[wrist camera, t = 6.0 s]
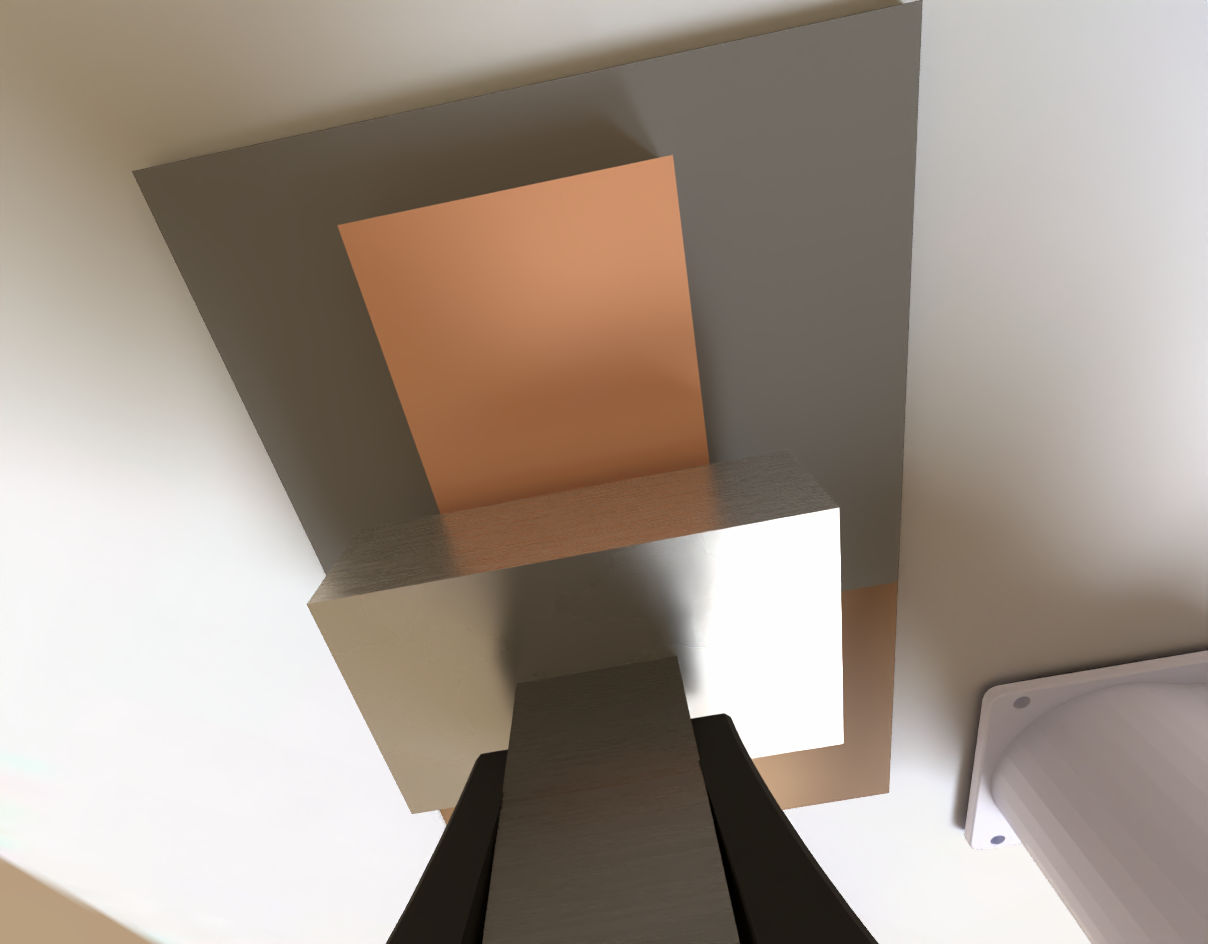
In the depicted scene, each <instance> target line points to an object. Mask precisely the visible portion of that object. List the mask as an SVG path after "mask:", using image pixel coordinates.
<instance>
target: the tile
mask: <svg viewBox="0 0 1208 944" xmlns="http://www.w3.org/2000/svg"><path fill="white" fill-rule="evenodd" d="M337 226H338V228H339V231H340V234H341V237H342V240H343V242H344V245H345V248H346V251H347V254H348V256H349V259H350V262H351V265H352V268H353V270H354V273H355V276H356V279H357V282H358V284H359V287H360V290H361V293H362V296H363V298H364V301H365V304H366V307H367V310H368V312H369V315H370V318H371V321H372V324H373V326H374V329H375V332H376V335H377V338H378V340H379V343H380V346H381V349H382V352H383V354H384V357H385V360H386V363H387V366H388V368H389V371H390V374H391V377H392V380H393V382H394V385H395V388H396V391H397V394H398V396H399V399H400V402H401V405H402V408H403V410H404V413H405V416H406V419H407V422H408V424H409V427H410V430H411V433H412V436H413V438H414V441H415V444H416V447H417V450H418V452H419V455H420V458H421V461H422V464H423V466H424V469H425V472H426V475H427V478H428V480H429V483H430V486H431V489H432V492H433V494H434V497H435V500H436V503H437V506H438V508H439V511H440V514H445V513H450V512H455V511H461V510H466V509H471V508H477V507H482V506H487V505H493V504H498V503H504V502H509V501H514V500H520V499H525V498H530V497H536V496H541V495H547V494H552V493H557V492H563V491H568V490H573V489H579V488H584V487H589V486H595V485H600V484H606V483H611V482H616V481H622V480H627V479H632V478H638V477H643V476H649V475H654V474H659V473H665V472H670V471H675V470H681V469H686V468H691V467H697V466H702V465H708V464H709V455H708V447H707V438H706V430H705V421H704V413H703V405H702V396H701V388H700V379H699V371H698V363H697V354H696V346H695V337H694V329H693V320H692V312H691V304H690V295H689V287H688V278H687V270H686V261H685V253H684V245H683V236H682V228H681V219H680V211H679V203H678V194H677V186H676V177H675V169H674V160H673V155H670V156H665V157H660V158H655V159H651V160H646V161H641V162H636V163H632V164H627V165H622V166H617V167H613V168H608V169H603V170H598V171H594V172H589V173H584V174H579V175H574V176H570V177H565V178H560V179H555V180H551V181H546V182H541V183H536V184H532V185H527V186H522V187H517V188H513V189H508V190H503V191H498V192H493V193H489V194H484V195H479V196H474V197H470V198H465V199H460V200H455V201H451V202H446V203H441V204H436V205H432V206H427V207H422V208H417V209H412V210H408V211H403V212H398V213H393V214H389V215H384V216H379V217H374V218H370V219H365V220H360V221H355V222H351V223H346V224H341V225H337Z"/></svg>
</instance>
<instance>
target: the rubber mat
mask: <svg viewBox="0 0 1208 944" xmlns="http://www.w3.org/2000/svg"><path fill="white" fill-rule="evenodd" d="M921 23H922V0H919V1H915V2H910V3H905V4H901V5H896V6H891V7H887V8H882V9H878V10H873V11H868V12H864V13H859V14H855V15H850V16H845V17H841V18H836V19H832V20H827V21H822V22H818V23H813V24H809V25H804V26H799V27H795V28H790V29H786V30H781V31H776V32H772V33H767V34H763V35H758V36H753V37H749V38H744V39H739V40H735V41H730V42H726V43H721V44H716V45H712V46H707V47H703V48H698V49H693V50H689V51H684V52H680V53H675V54H670V55H666V56H661V57H657V58H652V59H647V60H643V61H638V62H634V63H629V64H624V65H620V66H615V67H611V68H606V69H601V70H597V71H592V72H587V73H583V74H578V75H574V76H569V77H564V78H560V79H555V80H551V81H546V82H541V83H537V84H532V85H528V86H523V87H518V88H514V89H509V90H505V91H500V92H495V93H491V94H486V95H482V96H477V97H472V98H468V99H463V100H459V101H454V102H449V103H445V104H440V105H435V106H431V107H426V108H422V109H417V110H412V111H408V112H403V113H399V114H394V115H389V116H385V117H380V118H376V119H371V120H366V121H362V122H357V123H353V124H348V125H343V126H339V127H334V128H330V129H325V130H320V131H316V132H311V133H307V134H302V135H297V136H293V137H288V138H283V139H279V140H274V141H270V142H265V143H260V144H256V145H251V146H247V147H242V148H237V149H233V150H228V151H224V152H219V153H214V154H210V155H205V156H201V157H196V158H191V159H187V160H182V161H178V162H173V163H168V164H164V165H159V166H155V167H150V168H145V169H141V170H136V171H132V173H133V175H134V177H135V179H136V181H137V183H138V185H139V187H140V189H141V191H142V193H143V195H144V197H145V200H146V202H147V204H148V206H149V208H150V210H151V212H152V214H153V216H154V218H155V220H156V222H157V224H158V227H159V229H160V231H161V233H162V235H163V237H164V239H165V241H166V243H167V245H168V247H169V249H170V251H171V254H172V256H173V258H174V260H175V262H176V264H177V266H178V268H179V270H180V272H181V274H182V276H183V278H184V281H185V283H186V285H187V287H188V289H189V291H190V293H191V295H192V297H193V299H194V301H195V303H196V305H197V308H198V310H199V312H200V314H201V316H202V318H203V320H204V322H205V324H206V326H207V328H208V330H209V332H210V335H211V337H212V339H213V341H214V343H215V345H216V347H217V349H218V351H219V353H220V355H221V357H222V359H223V362H224V364H225V366H226V368H227V370H228V372H229V374H230V376H231V378H232V380H233V382H234V384H235V386H236V388H237V391H238V393H239V395H240V397H241V399H242V401H243V403H244V405H245V407H246V409H247V411H248V413H249V415H250V418H251V420H252V422H253V424H254V426H255V428H256V430H257V432H258V434H259V436H260V438H261V440H262V442H263V445H264V447H265V449H266V451H267V453H268V455H269V457H270V459H271V461H272V463H273V465H274V467H275V469H276V472H277V474H278V476H279V478H280V480H281V482H282V484H283V486H284V488H285V490H286V492H287V494H288V496H289V499H290V501H291V503H292V505H293V507H294V509H295V511H296V513H297V515H298V517H299V519H300V521H301V523H302V526H303V528H304V530H305V532H306V534H307V536H308V538H309V540H310V542H311V544H312V546H313V548H314V550H315V553H316V555H317V557H318V559H319V561H320V563H321V565H322V567H323V569H324V571H325V573H326V575H327V574H328V573H329V572H330V570H331V569H332V567H333V566H334V564H335V563H336V561H337V560H338V559H339V557H340V556H341V554H342V553H343V551H344V550H345V548H346V547H347V546H348V544H349V543H350V541H351V540H352V538H353V537H354V535H355V534H356V533H357V531H358V530H359V529H364V528H369V527H375V526H380V525H385V524H391V523H396V522H402V521H407V520H412V519H418V518H423V517H428V516H434V515H439V514H440V511H439V508H438V506H437V503H436V500H435V497H434V494H433V492H432V489H431V486H430V483H429V480H428V478H427V475H426V472H425V469H424V466H423V464H422V461H421V458H420V455H419V452H418V450H417V447H416V444H415V441H414V438H413V436H412V433H411V430H410V427H409V424H408V422H407V419H406V416H405V413H404V410H403V408H402V405H401V402H400V399H399V396H398V394H397V391H396V388H395V385H394V382H393V380H392V377H391V374H390V371H389V368H388V366H387V363H386V360H385V357H384V354H383V352H382V349H381V346H380V343H379V340H378V338H377V335H376V332H375V329H374V326H373V324H372V321H371V318H370V315H369V312H368V310H367V307H366V304H365V301H364V298H363V296H362V293H361V290H360V287H359V284H358V282H357V279H356V276H355V273H354V270H353V268H352V265H351V262H350V259H349V256H348V254H347V251H346V248H345V245H344V242H343V240H342V237H341V234H340V231H339V228H338V226H337V225H341V224H346V223H351V222H355V221H360V220H365V219H370V218H374V217H379V216H384V215H389V214H393V213H398V212H403V211H408V210H412V209H417V208H422V207H427V206H432V205H436V204H441V203H446V202H451V201H455V200H460V199H465V198H470V197H474V196H479V195H484V194H489V193H493V192H498V191H503V190H508V189H513V188H517V187H522V186H527V185H532V184H536V183H541V182H546V181H551V180H555V179H560V178H565V177H570V176H574V175H579V174H584V173H589V172H594V171H598V170H603V169H608V168H613V167H617V166H622V165H627V164H632V163H636V162H641V161H646V160H651V159H655V158H660V157H665V156H670V155H673V160H674V169H675V177H676V186H677V194H678V203H679V211H680V219H681V228H682V236H683V245H684V253H685V261H686V270H687V278H688V287H689V295H690V304H691V312H692V320H693V329H694V337H695V346H696V354H697V363H698V371H699V379H700V388H701V396H702V405H703V413H704V421H705V430H706V438H707V447H708V455H709V464H713V463H718V462H724V461H729V460H734V459H740V458H745V457H751V456H756V455H761V454H767V453H772V452H777V451H783V450H789V451H790V452H791V453H792V454H793V455H794V457H795V458H796V459H797V460H798V461H799V462H800V463H801V465H802V466H803V467H804V468H805V469H806V470H807V471H808V473H809V474H810V475H811V476H812V477H813V478H814V479H815V481H816V482H817V483H818V484H819V485H820V486H821V488H822V489H823V490H824V491H825V492H826V493H827V494H828V496H829V497H830V498H831V499H832V500H833V501H834V502H835V504H836V505H837V506H838V507H839V523H840V583H841V591H847V590H853V589H859V588H864V587H870V586H876V585H881V584H887V583H893V582H898V568H899V544H900V521H901V497H902V473H903V449H904V426H905V402H906V378H907V355H908V331H909V307H910V283H911V260H912V236H913V212H914V189H915V165H916V141H917V118H918V94H919V70H920V46H921Z"/></svg>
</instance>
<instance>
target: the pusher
mask: <svg viewBox="0 0 1208 944" xmlns="http://www.w3.org/2000/svg"><path fill="white" fill-rule="evenodd" d="M307 606H308V608H309V610H310V612H311V614H312V616H313V618H314V620H315V622H316V624H317V626H318V628H319V630H320V632H321V634H322V636H323V638H324V640H325V642H326V644H327V646H328V648H329V650H330V652H331V654H332V656H333V658H334V660H335V662H336V664H337V666H338V668H339V670H340V672H341V674H342V676H343V677H344V679H345V681H346V683H347V685H348V687H349V689H350V691H351V693H352V695H353V697H354V699H355V701H356V703H357V705H358V707H359V709H360V711H361V713H362V715H363V717H364V719H365V721H366V723H367V725H368V727H369V729H370V731H371V733H372V735H373V737H374V739H375V741H376V743H377V745H378V747H379V749H380V751H381V753H382V755H383V757H384V759H385V761H386V763H387V765H388V767H389V769H390V771H391V773H392V775H393V777H394V779H395V781H396V783H397V785H398V787H399V789H400V791H401V793H402V795H403V797H404V799H405V801H406V803H407V805H408V807H409V809H410V811H411V813H412V814H416V813H422V812H428V811H434V810H440V809H446V808H452V807H456V804H457V802H458V800H459V798H460V796H461V793H462V791H463V789H464V787H465V784H466V782H467V780H468V777H469V775H470V773H471V771H472V768H473V766H474V764H475V761H476V759H477V758H478V757H479V756H480V754H483V753H489V752H495V751H501V750H507V749H508V753H507V761H506V768H505V776H504V783H503V791H502V793H504V795H503V800H502V804H501V809H500V814H499V821H498V829H497V836H496V844H495V851H494V859H493V866H492V874H491V881H490V889H489V897H488V904H487V912H486V919H485V927H484V934H483V942H482V944H740V942H739V937H738V932H737V928H736V923H735V919H734V914H733V910H732V905H731V900H730V896H729V891H728V887H727V882H726V878H725V873H724V868H723V864H722V859H721V855H720V850H719V846H718V841H717V836H716V832H715V827H714V823H713V818H712V814H711V809H710V804H709V800H708V795H707V791H706V786H705V782H704V778H703V775H702V771H701V768H700V765H699V762H698V761H700V759H699V754H698V750H697V745H696V740H695V736H694V731H693V727H692V722H691V719H692V718H698V717H704V716H710V715H716V714H722V713H725V714H727V715H729V716H730V717H731V718H732V720H733V723H734V725H735V727H736V730H737V732H738V734H739V736H740V738H741V740H742V742H743V744H744V746H745V748H746V750H747V752H748V754H749V755H750V757H751V758H757V757H763V756H769V755H775V754H781V753H787V752H794V751H800V750H806V749H812V748H818V747H824V746H830V745H836V744H842V743H843V702H842V643H841V583H840V523H839V507H838V506H837V505H836V504H835V502H834V501H833V500H832V499H831V498H830V497H829V496H828V494H827V493H826V492H825V491H824V490H823V489H822V488H821V486H820V485H819V484H818V483H817V482H816V481H815V479H814V478H813V477H812V476H811V475H810V474H809V473H808V471H807V470H806V469H805V468H804V467H803V466H802V465H801V463H800V462H799V461H798V460H797V459H796V458H795V457H794V455H793V454H792V453H791V452H790V451H789V450H783V451H777V452H772V453H767V454H761V455H756V456H751V457H745V458H740V459H734V460H729V461H724V462H718V463H713V464H708V465H702V466H697V467H691V468H686V469H681V470H675V471H670V472H665V473H659V474H654V475H649V476H643V477H638V478H632V479H627V480H622V481H616V482H611V483H606V484H600V485H595V486H589V487H584V488H579V489H573V490H568V491H563V492H557V493H552V494H547V495H541V496H536V497H530V498H525V499H520V500H514V501H509V502H504V503H498V504H493V505H487V506H482V507H477V508H471V509H466V510H461V511H455V512H450V513H445V514H439V515H434V516H428V517H423V518H418V519H412V520H407V521H402V522H396V523H391V524H385V525H380V526H375V527H369V528H364V529H359V530H358V531H357V533H356V534H355V535H354V537H353V538H352V540H351V541H350V543H349V544H348V546H347V547H346V548H345V550H344V551H343V553H342V554H341V556H340V557H339V559H338V560H337V561H336V563H335V564H334V566H333V567H332V569H331V570H330V572H329V573H328V574H327V576H326V577H325V579H324V580H323V582H322V583H321V585H320V586H319V587H318V589H317V590H316V592H315V593H314V595H313V596H312V598H311V599H310V600H309V602H308V603H307Z"/></svg>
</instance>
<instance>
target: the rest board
mask: <svg viewBox="0 0 1208 944" xmlns="http://www.w3.org/2000/svg"><path fill="white" fill-rule="evenodd" d="M897 592H898V582H893V583H887V584H881V585H876V586H870V587H864V588H859V589H853V590H847V591H841V643H842V702H843V743H842V744H836V745H830V746H824V747H818V748H812V749H806V750H800V751H794V752H787V753H781V754H775V755H769V756H763V757H757V758H751V759H752V761H753V763H754V764H755V766H756V768H757V770H758V771H759V773H760V775H761V776H762V778H763V780H764V782H765V783H766V785H767V787H768V788H769V790H770V792H771V793H772V795H773V796H774V798H775V800H776V801H777V803H778V804H779V806H780V808H781V809H782V810H785V809H791V808H797V807H803V806H810V805H816V804H822V803H828V802H835V801H841V800H847V799H853V798H860V797H866V796H872V795H878V794H885V793H889V781H890V758H891V734H892V710H893V687H894V663H895V639H896V615H897ZM454 809H455V807H452V808H446V809H440V812H441V814H442V816H443V818H444V820H445V823H446V825H447V824H448V822H449V820H450V817H451V815H452V813H453V811H454Z"/></svg>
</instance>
